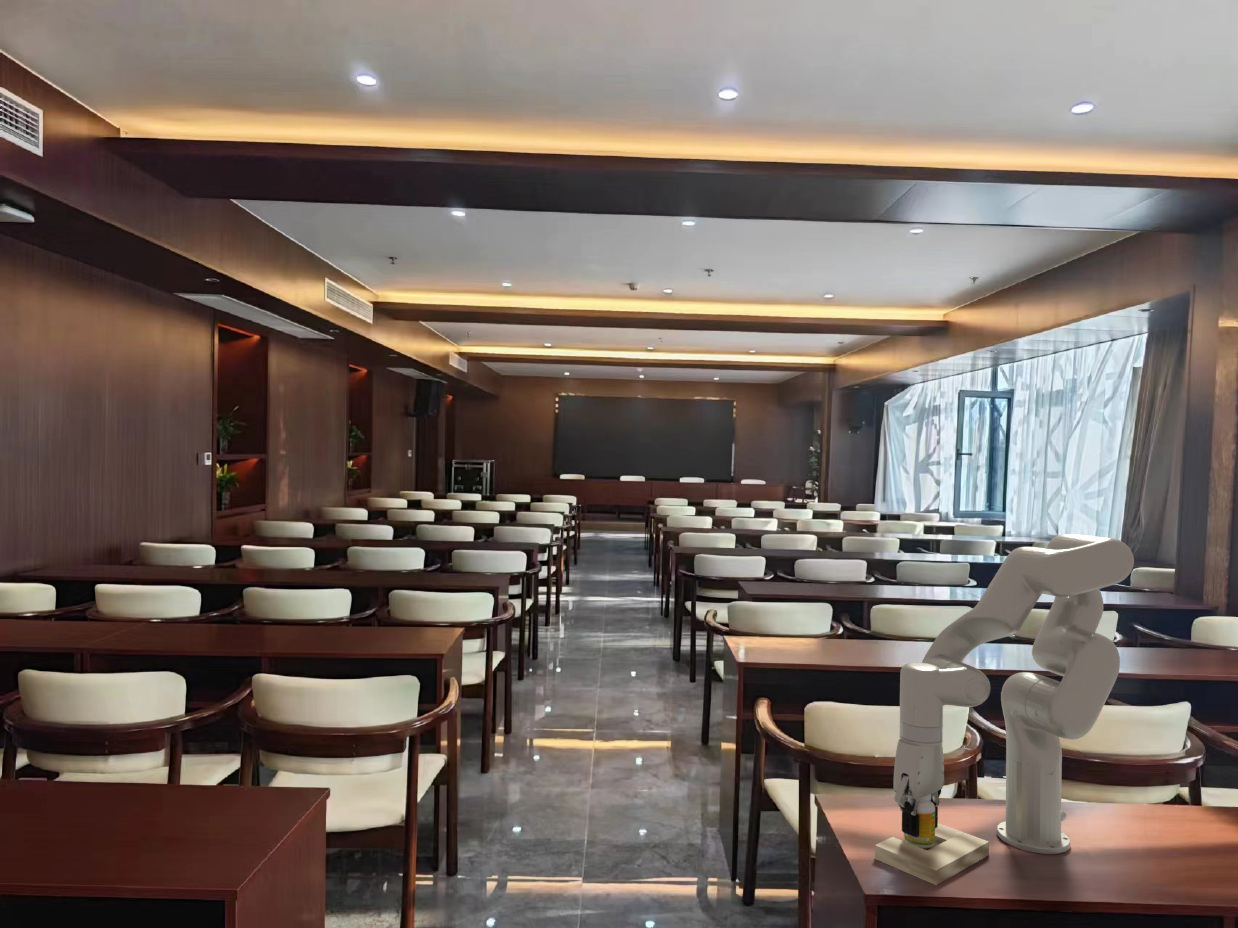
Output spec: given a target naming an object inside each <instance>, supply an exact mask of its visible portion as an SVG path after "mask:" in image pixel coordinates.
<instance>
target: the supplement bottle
mask: <svg viewBox="0 0 1238 928" xmlns="http://www.w3.org/2000/svg"><path fill="white" fill-rule="evenodd" d="M908 794H909V795H912V792H910V791H909V793H908ZM930 800H931V794H930V795H927V796H925V797H923V798H920V800H919V805H918V811H917V814H918V815H919V836H918V837H914V836H911V835H909V834H906V833H904V832H903V841H905V842H907V843H910V844H912V845H915V846H917V847H920V848H922V849H931V847H933V846H934V844H935V805H934V804H933V803H932V802H931V801H930ZM908 802H910V804H911V805H912V804H913V800H912V799H909V798H908Z"/></svg>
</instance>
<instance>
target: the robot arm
mask: <svg viewBox="0 0 1238 928" xmlns="http://www.w3.org/2000/svg"><path fill="white" fill-rule="evenodd" d="M1134 564H1135V557H1134V553H1133V552H1132V549H1131V548H1130V547H1129V545H1127V544H1126V543H1125V542H1123V541H1121V540H1120V539H1117V538H1113V537H1107V536H1106V537H1105V536H1095V535H1089V534H1088V535H1086V534H1078V533H1065V534H1059V535H1055V536H1054V537H1052V538H1051V539H1050V541H1049V542H1048V544H1047V545H1046V548H1043V547H1036V546H1021V547H1016V548H1014V549H1012V551H1010V552H1009V554H1008V555H1007V556H1006V557H1005V559H1004V561H1003V562H1002V563H1001V565H1000V566H999V569H998V570H997V572H996V573H995V575H994V576H993V578H992V580H991V581H990V583H989V584H988V587H987V588H986V589H985V591H984V592H983V594H982V596H981V597H980V599H979V601H978V602H977V604H976V605H975V606H974V607H973V608H972V609H970V610H969V611H967V612H966V613H964V614H963V615H961V616H960V617H958V618H957V619H956V620H954V621H953V622H952V623H950V624H949V625H947V626H946V627H945V628H944V629H943V630H942V631H941V632H939V634H938V635H937V636H936V637H935V639H934V641H933V642H932V644H931V645H930V647H929V648H928V650H927V652H926V654H925V655H924V657H923V659H922V661H921V662H909V663H905V664H904V665H902V667H901V669H900V672H899V673H900V675H899V677H900V678H899V680H900V681H899V739H898V741H897V746H896V751H895V757H894V759H895V760H894V768H893V792H895V795H894V796H893V797H894V798H893V799H894V801H895V802H896V803H897V805H898V806H899V807H900V808H899V810H900V812H901V832H902V833H903V834H904V833H906V834H909V835H911V836H914V837H918V836H919V815H918V814H917V811H918V805H919V800H920V798H923V797H925V796H927V795H930V794H931V800H930V801H931V802H932V803H933V804H934V805H935V828H937V827H938V823H939V822H938V821H939V820H938V819H939V817H938V816H939V815H938V814H939V807H938V806H939V805H940V796H941V795H942V789H943V787H944V785H945V782H946V780H945V765H944V763H945V762H944V748H943V742H944V741H943V740H944V739H943V738H944V735H943V734H944V733H943V732H944V731H943V730H944V728H943V727H944V724H943V723H944V706H953V707H961V708H972V707H973V708H974V707H977V706H979V705H982V704H984V702H986V700H987V699H988V698H989V696H990V694H991V683H990V681H989V678H988V677H987V675H986V674H985V673H984V672H983V671H982V670H980V669H979V668H977V667H975V666H972V665H970V664H967V663H965V662H963V661H964V660H965V658H966V657H967V656H968V655H969V654H970V653H972V651H973V650H975V649H976V648H977V647H980V645H983V644H986V643H988V642H993V641H995V640H999V639H1004V638H1007V637H1010V636H1013V635H1015V634H1016V633H1019V631H1020V630H1021V629H1022V627H1023V625H1024V623H1025V622H1026V620H1027V618H1028V617H1029V615H1030V613H1031V612H1032V610H1033V608H1034V607H1035V605H1036V604H1037V602H1038V601H1039V599H1040V597H1041V596H1042V595H1048V596H1054V599H1053V603H1052V604H1051V607H1050V609H1049V611H1048V613H1047V615H1046V617H1045V618H1044V621H1043V623H1042V625H1041V627H1040V629H1039V631H1038V634H1037V635H1036V637H1035V640H1034V641H1033V645H1032V650H1031V656H1032V658H1033V660H1034V662H1035V663H1036V665H1037V666H1039V667H1040V668H1041V669H1044V670H1045V671H1047V672H1050V673H1052V674H1055V675H1058V676H1060V677H1062V679H1061V681H1058V680H1056V679H1054V678H1050V677H1047V676H1045V675H1042V674H1039V673H1036V672H1035V673H1034V672H1031V671H1030V672H1028V671H1026V672H1025V671H1023V672H1017V673H1014V674H1013V675H1010V676H1009V677H1008V678H1006V680H1005V681H1004V683H1003V685H1002V688H1001V692H1000V701H1001V708H1002V714H1003V717H1004V724H1005V740H1006V741H1005V742H1006V743H1005V744H1006V749H1005V752H1006V754H1005V820H1004V821H1002V822H1000V823H998V825H997V826H996V834H997V836H998V837H999V839H1001V841H1002V842H1004V843H1006V844H1008V845H1010V846H1012V847H1013V848H1017V849H1019V850H1023V851H1025V852H1030V853H1035V854H1037V853H1038V854H1042V855H1043V854H1045V855H1055V854H1056V855H1057V854H1062V853H1065V852H1067V851H1069V849H1070V848H1071V839H1070V837H1069V836H1068V835H1067V834H1066V833H1064V832H1063V831H1062V822H1063V821H1064V820H1066V818H1067V814H1066V811H1064V810H1062V775H1063V774H1062V768H1063V767H1062V763H1063V755H1062V753H1063V751H1062V745H1061V741H1060V738H1061V739H1065V740H1069V741H1070V740H1072V741H1073V740H1078V739H1081V738H1083V737H1085V736H1086V735H1087V734H1089V732H1090V731H1091V730H1092V729H1093V727H1094V725H1095V724H1096V722H1097V720H1098V718H1099V716H1100V714H1101V712H1102V710H1103V709H1104V705H1105V703H1106V701H1107V700H1108V698H1109V695H1110V693H1111V692H1112V690H1113V688H1114V685H1115V683H1116V681H1117V680H1118V679H1117V678H1118V676H1119V672H1120V667H1121V657H1120V652H1119V650H1118V647H1117V646H1116V645H1115V643H1114V642H1113V641H1112V640H1111V639H1109V638H1108V637H1107V636H1104V635H1102V634H1100V633H1097V628H1098V627H1099V624H1100V622H1101V619H1102V617H1103V613H1104V598H1103V596H1102V595H1103V594H1102V592H1101V589H1103V588H1107V587H1110V586H1114V585H1116V584H1119V583H1122V582H1123V581H1124V580H1126V579H1127V578H1128V576H1129V575H1130V574H1131V573H1132V571H1133V569H1134ZM909 791H910V792H912V795H909V794H908V793H909ZM908 798H909V799H912V800H913V804H912V805H911V804H910V802H908Z"/></svg>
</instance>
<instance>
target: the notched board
mask: <svg viewBox="0 0 1238 928" xmlns="http://www.w3.org/2000/svg"><path fill="white" fill-rule="evenodd" d="M988 855H989V856H990V841H989V840H986V839H983V838H980V837H977V836H975V835H972V834H969V833H966V832H965V831H961V830H958V829H956V828H953V827H950V826H947V825H944V824H941V823H939V822H938V827H937V828H935V844H934V846H933V847H931V848H928V850H927V849H926V848H920V847H917V846H915V845H912V844H910V843H907V842H905V840H902V839H900V838H897V837H894V836H891V837H889V838H886V839H885V840H883V841H880V842H878V843H877V844H875V845H874V860H877V861H879V862H880V863H881V862H882V863H883V864H886V865H887V866H888V865H889V866H890V867H893V868H895V869H898V870H900V871H902V872H904V873H906V874H909V875H911V876H913V877H916V878H919V879H920V880H923V881H925V882H928V883H930V884H932V885H935V886H937V885H939V884H941V883H942V882H945V881H946V880H948V879H949V878H951V877H954V876H956V874H958V873H960V872H962V871H963V870H965V869H967V868H969V867H971V866H972V865H974V864H976V863H978V862H979V860H980V861H982V860H983V859H985V858H987V857H989V856H988ZM986 856H987V857H986Z"/></svg>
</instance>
